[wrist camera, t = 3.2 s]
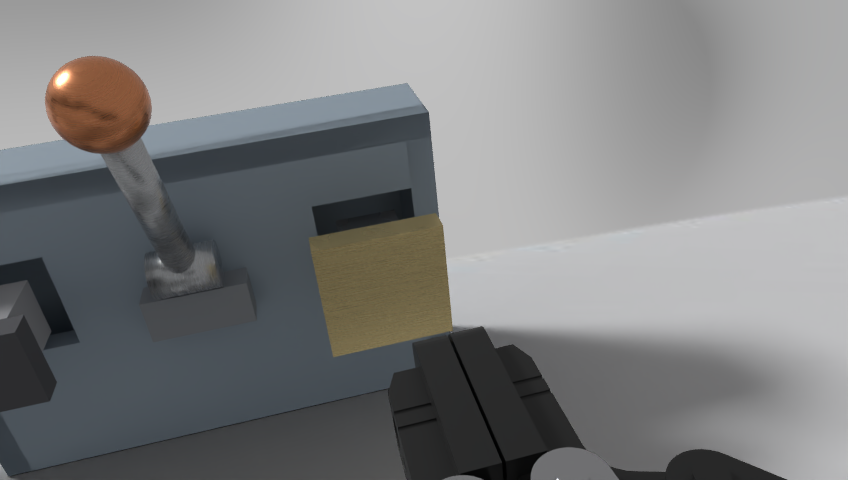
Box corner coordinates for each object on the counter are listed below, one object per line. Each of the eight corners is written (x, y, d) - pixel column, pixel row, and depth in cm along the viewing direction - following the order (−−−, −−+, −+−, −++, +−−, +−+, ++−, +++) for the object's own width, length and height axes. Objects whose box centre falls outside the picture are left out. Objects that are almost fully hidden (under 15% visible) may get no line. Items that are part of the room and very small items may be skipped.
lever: (157, 318, 25) (22, 110, 16) (156, 261, 26) (31, 43, 18) (229, 303, 25) (133, 93, 17) (224, 248, 27) (132, 29, 18)
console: (-1, 498, 28) (-169, 227, 21) (33, 412, 32) (-98, 166, 26) (460, 389, 31) (436, 122, 24) (434, 324, 35) (407, 83, 29)
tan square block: (333, 357, 25) (311, 251, 23) (323, 298, 28) (302, 201, 26) (452, 330, 26) (442, 225, 23) (428, 276, 29) (417, 179, 27)
